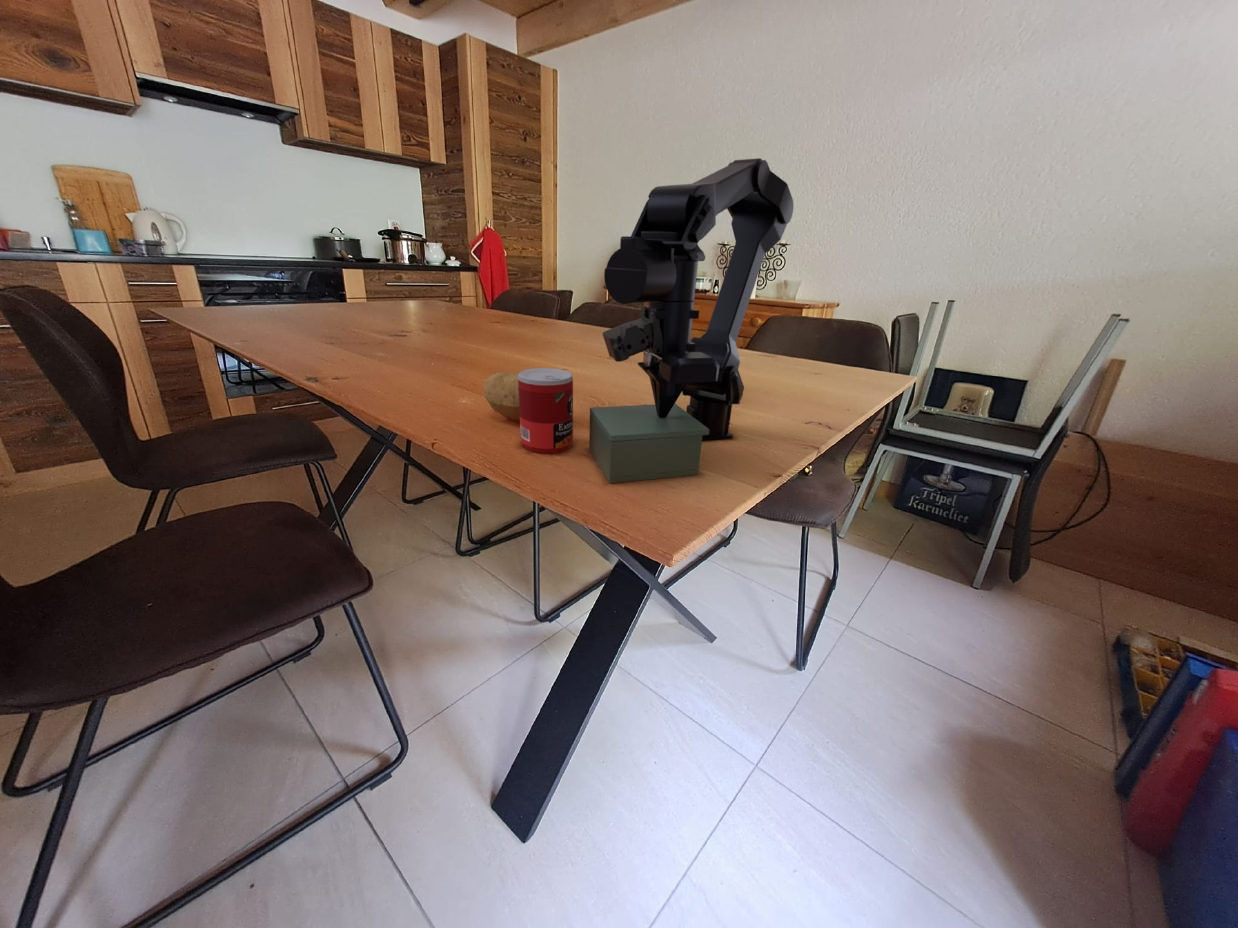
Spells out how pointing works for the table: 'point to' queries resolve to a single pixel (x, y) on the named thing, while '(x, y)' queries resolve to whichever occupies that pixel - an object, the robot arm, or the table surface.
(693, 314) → the robot arm
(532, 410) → the canned food
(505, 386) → the potato
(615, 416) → the lid
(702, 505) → the table surface
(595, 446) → the chest
